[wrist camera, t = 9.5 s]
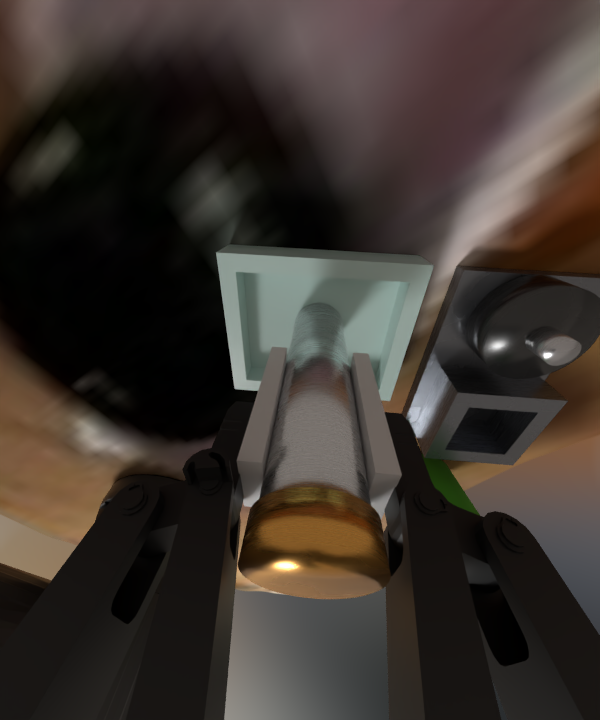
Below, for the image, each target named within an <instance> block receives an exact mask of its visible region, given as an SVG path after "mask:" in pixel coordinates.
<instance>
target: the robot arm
mask: <svg viewBox="0 0 600 720" xmlns="http://www.w3.org/2000/svg"><path fill="white" fill-rule="evenodd" d="M286 364H287V348H284V347H272V348H271V352H270V355H269V358H268V361H267V364H266V368H265V371H264V374H263V377H262V380H261V384H260V387H259V390H258V393H257V397H256V400H255V403H253V402H241V401H236V402H235V403H234V404H233V405H232V406H231V407H230V408H229V409H228V410H227V413H226V415H225V417H224V421H223V422H222V424H221V427H220V430H219V432H218V434H217V436H216V439H215V441H214V443H213V446H212V448H210V449H205V450H201V451H199V452H198V453H196V454H194V455H193V456H192V457H191V458H190V459H189V460H187V461H186V463H185V465H184V467H183V469H182V470H183V472H184V475H185V478H186V480H185V481H182V482H180V481H177V480H174V479H170V478H166V477H160V476H153V475H134V476H128V477H125V478H122V479H120V480H118V481H117V482H115V483H114V485H113V486H112V488H111V489H110V490H109V492H108V493H107V495H106V496H105V498H104V499H103V501H102V503H101V505H100V509H99V511H98V514H97V517H96V520H95V523H94V524H93V526H92V527H91V528H90V530H89V531H88V532H87V534H86V535H85V536H84V538H83V539H82V540H81V542H80V543H79V544H78V546H77V547H76V549H75V550H74V551H73V552H72V554H71V555H70V557H69V558H68V559H67V561H66V562H65V564H64V565H63V566H62V567H61V569H60V570H59V571H58V573H57V574H56V575H55V577H54V578H53V579H52V581H51V580H48V579H45V578H42V577H39V576H36V575H33V574H31V573H27V572H25V571H22V570H19V569H16V568H13V567H10V566H7V565H5V564H1V563H0V720H224V713H225V701H226V689H227V678H228V666H229V654H230V642H231V630H232V618H233V606H234V594H235V583H236V571H237V559H238V547H239V535H240V523H241V521H240V511H241V507H242V503H243V502H244V506H248V507H252V505H253V504H254V503H255V502H256V501H257V500H258V499H259V497H260V492H261V487H262V483H263V479H264V474H265V469H266V464H267V459H268V454H269V449H270V444H271V439H272V434H273V429H274V424H275V419H276V414H277V409H278V404H279V399H280V394H281V389H282V384H283V379H284V374H285V369H286ZM350 373H351V380H352V386H353V393H354V399H355V405H356V412H357V418H358V424H359V431H360V437H361V444H362V450H363V456H364V463H365V469H366V476H367V482H368V488H369V495H370V501H371V506H372V507H373V508H374V509H375V510H376V511H377V512H378V514H379V516H380V519H382V516H383V514H384V512H385V516H386V521H387V527H386V529H385V531H384V533H383V535H384V540H385V546H386V552H387V557H388V563H389V568H390V574H391V578H390V581H389V583H388V584H387V585H386V614H387V656H388V693H389V694H388V695H389V720H501V717H500V712H499V708H498V704H497V700H496V696H495V692H494V687H493V683H494V685H495V688H496V691H497V693H498V696H499V699H500V701H501V703H502V706H503V709H504V711H505V714H506V717H507V719H508V720H600V635H599V634H598V632H597V631H596V629H595V628H594V626H593V625H592V623H591V622H590V620H589V619H588V617H587V616H586V614H585V613H584V611H583V610H582V608H581V607H580V605H579V604H578V602H577V601H576V599H575V598H574V596H573V595H572V593H571V592H570V590H569V589H568V587H567V585H566V584H565V582H564V581H563V579H562V578H561V576H560V575H559V573H558V572H557V570H556V569H555V568H554V566H553V564H552V563H551V561H550V560H549V558H548V557H547V555H546V554H545V552H544V551H543V549H542V548H541V546H540V545H539V543H538V542H537V540H536V539H535V537H534V536H533V535H532V534H531V533H530V531H529V530H528V529H527V528H526V527H525V526H524V525H523V524H521V523H520V522H519V521H518V520H517V519H515V518H513V517H511V516H509V515H507V514H505V513H501V512H496V511H495V512H491V513H487V515H486V516H485V517H482V516H479V515H477V514H474V513H472V512H469V511H467V510H464V509H462V508H459V507H457V506H455V505H453V504H452V503H450V502H449V501H448V500H447V499H446V498H445V497H444V495H443V494H442V493H441V492H440V491H439V490H437V489H436V488H435V487H434V485H433V483H432V481H431V478H430V476H429V473H428V470H427V468H426V465H425V462H424V459H423V457H422V454H421V451H420V449H419V446H418V443H417V441H416V438H415V437H414V433H413V430H412V427H411V424H410V423H409V422H408V421H407V419H406V418H405V417H404V416H403V415H402V414H399V413H387V412H384V409H383V405H382V402H381V398H380V394H379V391H378V387H377V384H376V380H375V376H374V373H373V369H372V365H371V362H370V358H369V355H368V354H367V353H353V356H352V361H351V366H350ZM491 678H492V679H491ZM492 680H493V683H492Z"/></svg>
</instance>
